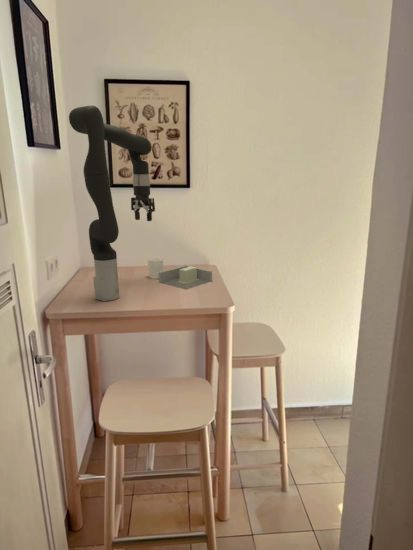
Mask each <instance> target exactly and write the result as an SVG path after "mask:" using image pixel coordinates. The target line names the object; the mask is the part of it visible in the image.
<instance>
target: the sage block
mask: <svg viewBox="0 0 413 550" xmlns="http://www.w3.org/2000/svg"><path fill="white" fill-rule="evenodd" d="M197 268H198V267H194V266H190V267H187V268H183V269H179V276H180V282H184V283H187V282H190V281H194V280H197Z"/></svg>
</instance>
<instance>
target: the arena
mask: <svg viewBox="0 0 413 550" xmlns="http://www.w3.org/2000/svg"><path fill="white" fill-rule="evenodd" d="M187 267H190V266H189V265H183V266H178V267H175V268H170V269H166V270H163V271H162V272H159V278H158V283H159V284H162V285H163V284H164V285H167V286H171V287H176V288H178V289H182V290H186V291H187V290H190V289H192V288H195V287H198V286H201V285H205V284H207V283H211V282H213V270H210V269H204V268H199V267H196V268H197V280H194V281H190V282H187V283H184V282H180V276H179V269H183V268H187Z"/></svg>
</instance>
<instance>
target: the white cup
mask: <svg viewBox="0 0 413 550" xmlns="http://www.w3.org/2000/svg"><path fill="white" fill-rule="evenodd" d="M147 268H148V270H147V271H148V275H149V276H148V277H149V278H150V279H153V280H154V279H155V280H156V279H158V280H159V272H162V271H164V258H163V257H150V258H147Z"/></svg>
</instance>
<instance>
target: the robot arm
mask: <svg viewBox="0 0 413 550" xmlns="http://www.w3.org/2000/svg"><path fill="white" fill-rule="evenodd" d="M68 120H69V124H70V127H72V129H73V130H74V131H75V132H77V133H80V134H83V135H87V140H88V150H87V154H86V157H85V160H84V165H83V177H84V183H85V188H86V190H87V193H88V195H89V196H90V199H91V200H92V202H93V203H94V206H95V207H96V211H97V215H98V218H97V219H94V220H92V221H91V223H90V224H89V228H88V237H89V238H88V239H89V245H90V250H91V253H92V255H93V263H94V275H95V276H94V277H93V286H94V287H93V289H94V298H95V300H98V301H102V302H107V301H108V302H109V301H115V300H117V299H119V298H120V286H119V270H118V257H117V256H118V255H117V251H116V250H115V249H114V248H113V247H112V245H111V244H113V243H114V242H116V241H117V240H118V237H119V234H120V233H119V232H120V231H119V224H118V221H117V217H116V213H115V207H114V204H113V197H112V192H111V190H112V189H111V181H110V176H109V174H110V173H109V168H108V162H107V153H106V142H105V141H107V142H108V143H111V144H112V145H113V144H114V145H116V146H118V147H120V148H122V149H125V150H128V155H129V157H130V158H129V159H130V161H131V164H132V175H133V176H132V185H133V186H132V187H133V196H135V197H133V196H132V197H131V198H130V210H131V211H133V212H134V218H135V220H136V221H140V220H141V218H140V217H141V214H140V213H141V212H140V209H142V208H143V209H144V210H145V212H146V221H147V222H152V219H153V215H152V214H153V212H156V205H155V198H154V197H152V198H151V197H150V195H151V179H150V172H149V171H150V170H149V169H150V168H149V161H146V160H143V159H142V157H141V156H146V155H149V154H150V153H151V151H152V150H153V148H152V147H153V146H152V142H151V141H150V140H149V139H148V138H147V137H144V136H141V135H138V134H134V133H131V132H130V131H128V130H126V129H124V128H122V127H119V126H116V125H112V124H108V123H104V117H103V114H102V111H101V110H100V109H99V108H98V107H97V106H96V105H85V106H79V107H75V108H73V109H72V110H71V111H70V112H69V115H68Z"/></svg>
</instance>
